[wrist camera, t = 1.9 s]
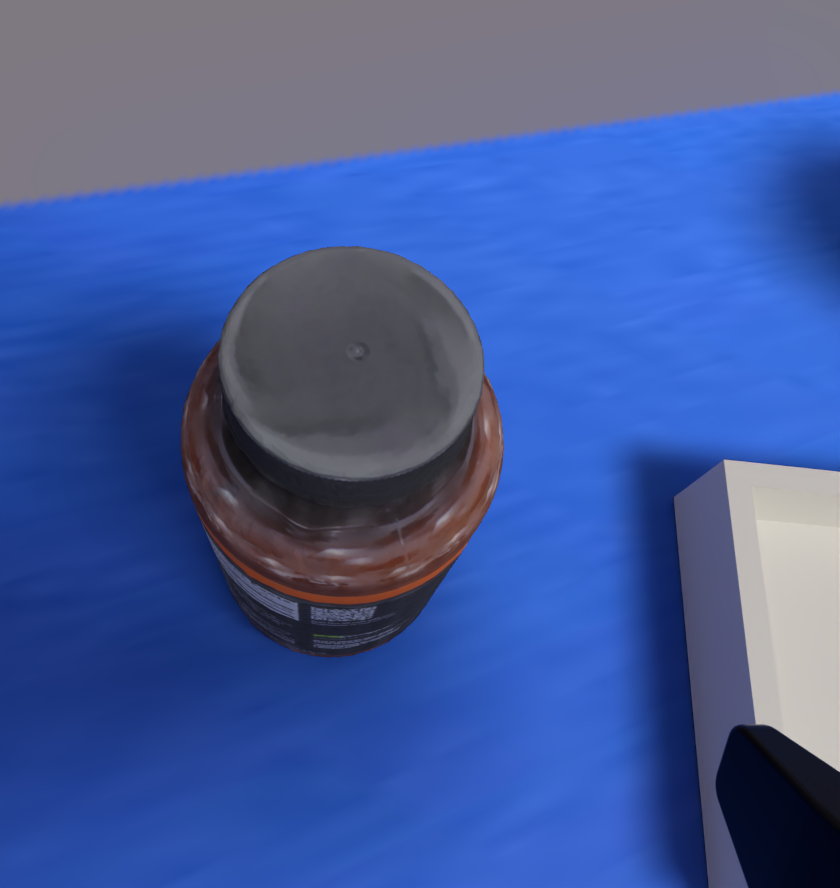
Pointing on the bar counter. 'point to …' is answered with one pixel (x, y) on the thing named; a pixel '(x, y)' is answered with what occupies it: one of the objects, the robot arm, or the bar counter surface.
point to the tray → (759, 619)
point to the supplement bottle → (341, 446)
